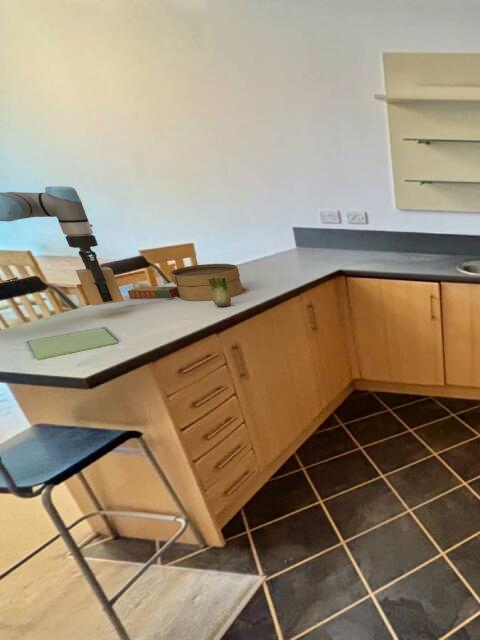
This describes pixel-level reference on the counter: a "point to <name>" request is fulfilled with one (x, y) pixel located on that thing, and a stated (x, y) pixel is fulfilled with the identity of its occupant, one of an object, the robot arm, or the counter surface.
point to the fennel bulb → (220, 292)
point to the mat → (71, 343)
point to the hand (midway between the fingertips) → (105, 299)
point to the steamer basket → (205, 280)
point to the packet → (92, 290)
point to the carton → (153, 292)
